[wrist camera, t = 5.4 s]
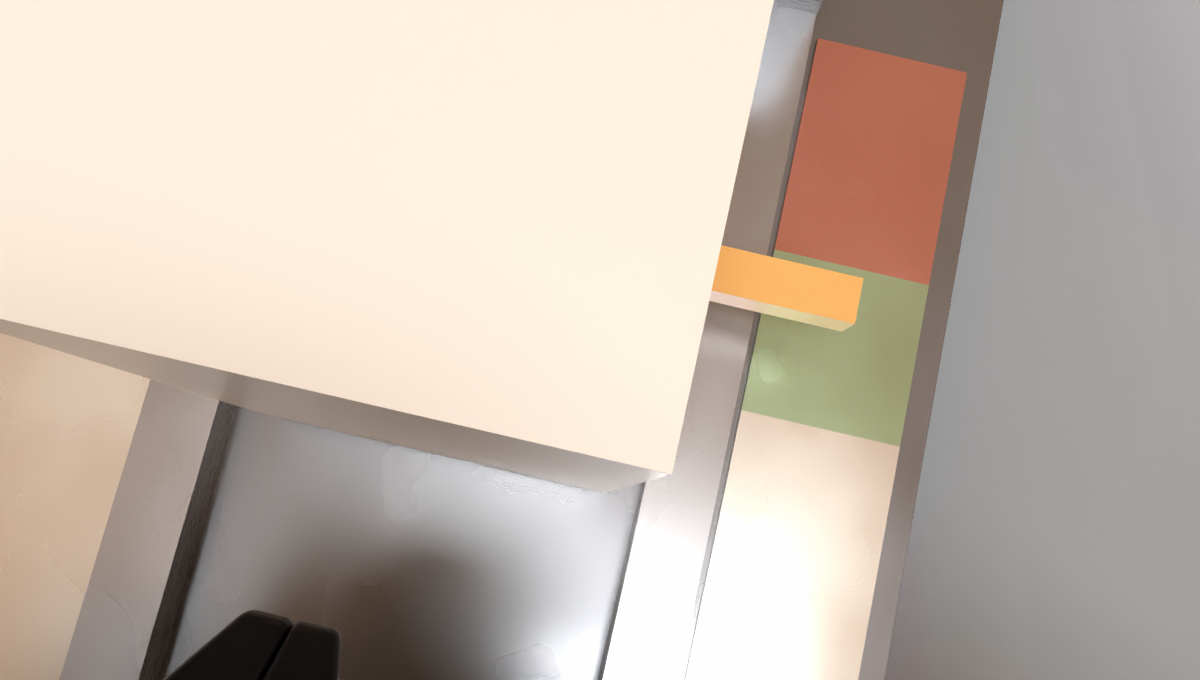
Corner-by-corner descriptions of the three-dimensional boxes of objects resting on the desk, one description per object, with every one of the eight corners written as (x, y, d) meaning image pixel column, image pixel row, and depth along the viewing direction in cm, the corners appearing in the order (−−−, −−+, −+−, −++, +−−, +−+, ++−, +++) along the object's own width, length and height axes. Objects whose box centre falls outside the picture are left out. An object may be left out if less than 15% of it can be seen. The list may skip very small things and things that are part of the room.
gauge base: (799, 1032, 15) (955, 1374, 9) (-146, 814, 15) (-604, 1014, 9) (998, -82, 18) (1214, -372, 12) (208, -266, 18) (34, -648, 12)
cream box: (775, 532, 15) (1093, 573, 6) (93, 375, 15) (-603, 179, 6) (852, 142, 16) (1225, -323, 7) (212, -7, 16) (-235, -664, 7)
